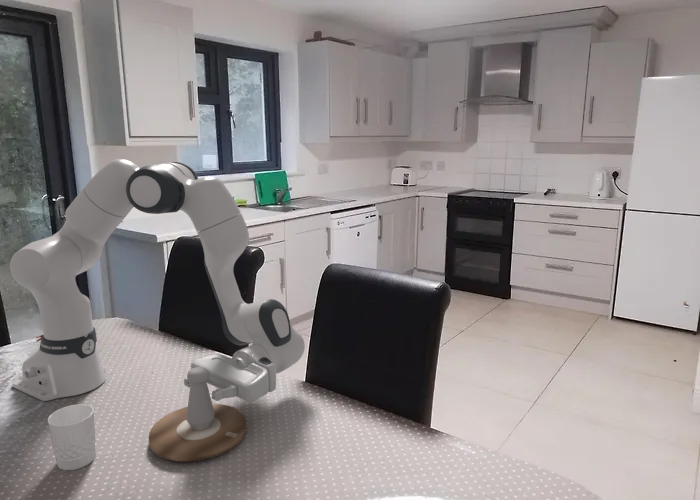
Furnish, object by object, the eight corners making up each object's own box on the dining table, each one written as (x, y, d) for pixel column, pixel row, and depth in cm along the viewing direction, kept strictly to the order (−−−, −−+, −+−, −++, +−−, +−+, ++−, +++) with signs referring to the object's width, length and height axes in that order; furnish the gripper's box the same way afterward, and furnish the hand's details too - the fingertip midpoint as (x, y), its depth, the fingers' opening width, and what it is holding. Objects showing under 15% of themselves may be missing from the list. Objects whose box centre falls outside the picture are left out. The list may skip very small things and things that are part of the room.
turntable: (127, 449, 102) (126, 443, 102) (188, 401, 120) (188, 396, 120) (212, 470, 96) (212, 465, 95) (263, 416, 114) (263, 411, 114)
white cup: (52, 477, 95) (46, 430, 93) (54, 454, 102) (48, 409, 99) (99, 465, 98) (94, 419, 96) (98, 444, 105) (93, 400, 103)
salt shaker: (206, 435, 105) (203, 377, 102) (181, 431, 106) (177, 374, 103) (219, 420, 110) (216, 365, 107) (195, 417, 111) (192, 362, 109)
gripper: (219, 343, 123) (169, 362, 112) (280, 365, 111) (230, 390, 100) (221, 367, 124) (171, 388, 113) (280, 392, 112) (231, 419, 101)
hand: (199, 389), depth 106 cm, fingers open, 8 cm apart
